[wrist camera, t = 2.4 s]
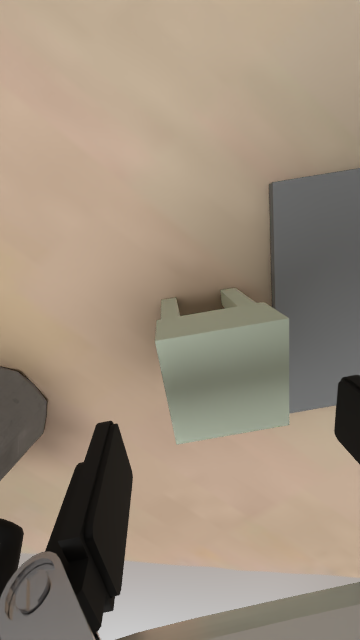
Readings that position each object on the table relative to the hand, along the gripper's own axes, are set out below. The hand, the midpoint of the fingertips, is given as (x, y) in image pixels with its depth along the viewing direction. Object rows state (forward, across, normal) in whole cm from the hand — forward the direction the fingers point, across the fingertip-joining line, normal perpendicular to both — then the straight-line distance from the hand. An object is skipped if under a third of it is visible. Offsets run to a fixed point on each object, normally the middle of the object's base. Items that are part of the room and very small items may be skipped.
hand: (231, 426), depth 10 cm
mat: (+11, -13, 0) cm, 17 cm away
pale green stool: (+11, -1, 0) cm, 11 cm away
